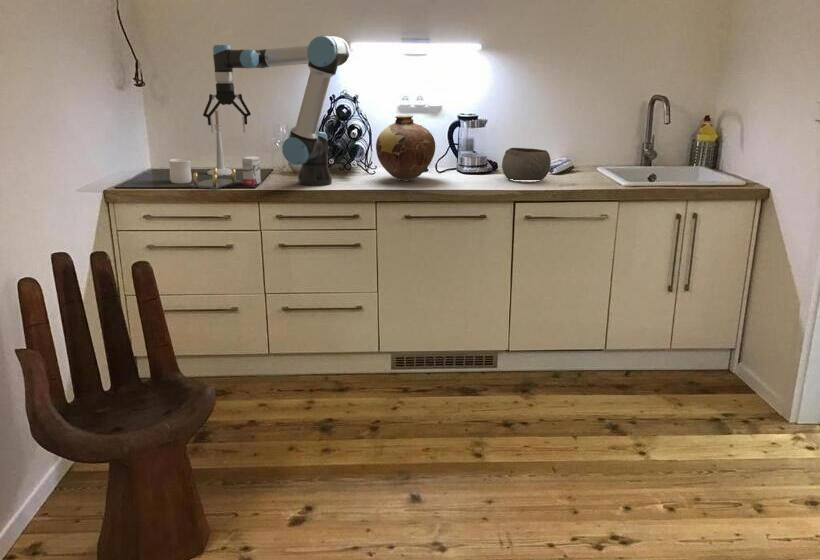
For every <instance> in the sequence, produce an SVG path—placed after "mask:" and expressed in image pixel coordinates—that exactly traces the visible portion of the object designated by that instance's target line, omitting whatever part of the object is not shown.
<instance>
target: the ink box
mask: <svg viewBox="0 0 820 560" xmlns="http://www.w3.org/2000/svg"><path fill="white" fill-rule="evenodd" d="M260 160H261V159H260V156H252V155H249V156H246V157H242V159H241V161H242V162H241V164H242V182H243V183H242V184H243V186H255V184H256V185H258V184H261V182H262V181H261V180H262V179H261V161H260Z"/></svg>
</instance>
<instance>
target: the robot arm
mask: <svg viewBox="0 0 820 560" xmlns="http://www.w3.org/2000/svg"><path fill="white" fill-rule="evenodd" d="M212 51H213V52H212V58H213V66H214V79H215V80H214V81H215V82H216V83H215V91H216V94H211V93H210V94H208V95H209V96H208V101H207V104H206V106H205V109H204V111H203V114H202V116H203V117H205V118H207V125H208V126H210V132H211V134H214V123H213V117H212V116H213V114H215V111H217V110H218V108H219V106H220V105H223V106H225V105H228V106H230V105H232V106H234V108H236V110H238V111H239V113H240V114H241V115H242V119H241V121H242V130H243V131H242V132H243V133H246V127H245V126H246V125H247V124H248V117H249V116H251V115H252V113H251V112H250V110H249V108H248V107H247V105H246V103H245V101H244V99H243V95H242V94H241V93H238V94H235V86H234V83H233V82H234V71H233V69H247V70H248V69H266V68H273V67H285V66H286V67H287V66H296V65H297V66H299V65H307V67H308V68H309V76H308V79H307V82H306V87H305V90H304V93H303V97H302V101H301V105H300V108H299V112H298V116H297V120H296V125H295V126H294V127H292V128H291V129H290V132H289V137H288V138H286V139H285V140H284V142H283V143H282V146H281V152H282V155H283V156H284V158H285V160H286V161H287V162H288V163H290V164H291V165H295V166H296V165H297V166H298V165H299V166H300V165H301V167H300V171H299V174H298V177H297V183H298V184H299V185H303V186H313V187H314V185H319V186H326V184H328V185H331V184H332V183H333V180H332V179H333V178H332V175H331V173H330V169H329V166H328V159H329V158H328V142H329V140H328V134H327V133H326V132H324V131H317V127H318V124H319V121H320V117H321V114H322V110H323V107H324V102H325V99H326V97H327V93H328V87H329V84H330V81H331V78H332V77H334V76H335V75H336V73H337V71H338V70H337V69H338V67H339V66H342V65H343V64H345V63H346V62H347V61H348V60H349V57H350V47H349V44H348V43H347V41H346V40H344V39H343V38H342V37H339V36H331V35H319V36H316V37H314V38H313V39H312V40H310V42H309V44H307V45H306V44H305V45H299V46H297V45H296V46H285V47H276V48H267V49H265V48H264V49H255V50H254V49H247V48H245V49H232V46H231V45H230V44H215V45H213V48H212ZM236 98H237V100H239V101H240V103H241V105H242V106H243V108H244V110H245V111H244V110H243V109H242V108H241V107H240V106H239V105H238V104H237V102H235V99H236ZM214 99H216V100H217V102H216V104H215V105H214V106H213V108H212V109H211V110H210V111H209V113H208V110H209V108H210V106H211V104H212V101H213V100H214ZM330 183H331V184H330Z"/></svg>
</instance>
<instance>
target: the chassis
mask: <svg viewBox="0 0 820 560" xmlns="http://www.w3.org/2000/svg"><path fill="white" fill-rule="evenodd" d="M212 169H213V174H212V175H211V176H212V178H210V179H205V180H201V181H198V172H193V174H192V176H193V177H192V178H193V183H189V186H188V187H189V188H196V187H198V189H199V188H200V189H207V188H209V189H211V190H220V189H219V188H221V189H223V188H222V187H224V188H226V187H225V186H228V187H230V186H229V185H231V186H234V185H233V184H235V185H237V184H236V183H238V184H241V180H238V179H236V178H237V177H236V174H237V173H236V169H234V168H233V169H231V170H232V175H231V179H227V178H218V176H217V168H216V167H213V168H212Z"/></svg>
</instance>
